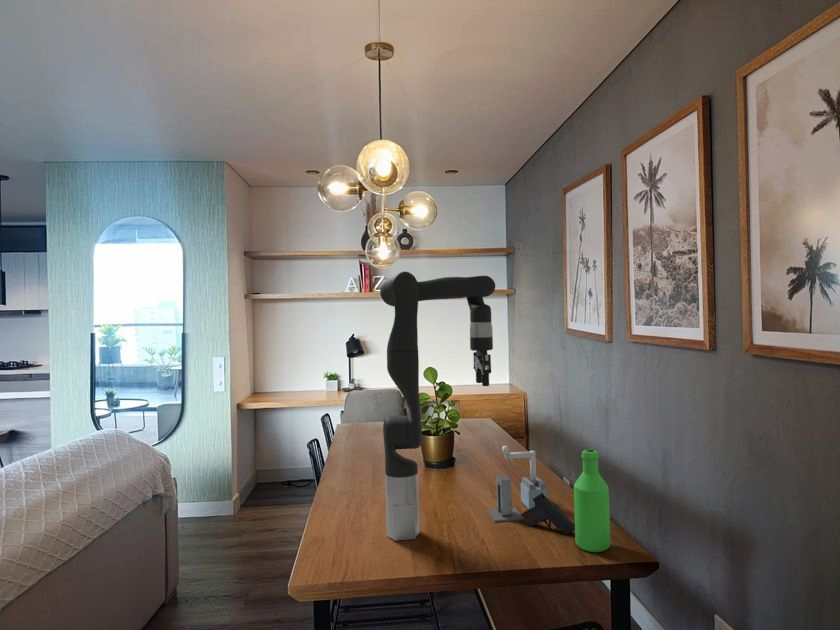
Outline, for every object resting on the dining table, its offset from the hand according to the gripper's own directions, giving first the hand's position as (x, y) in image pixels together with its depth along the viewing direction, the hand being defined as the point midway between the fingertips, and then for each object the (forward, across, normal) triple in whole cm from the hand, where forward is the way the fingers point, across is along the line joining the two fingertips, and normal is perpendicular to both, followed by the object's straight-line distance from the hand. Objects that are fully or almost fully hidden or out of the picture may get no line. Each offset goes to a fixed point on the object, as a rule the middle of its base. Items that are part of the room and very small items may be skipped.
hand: (482, 384), depth 182 cm
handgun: (+38, -29, -11) cm, 49 cm away
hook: (+38, -16, -2) cm, 41 cm away
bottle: (+38, -42, -18) cm, 60 cm away
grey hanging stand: (+38, -8, -10) cm, 40 cm away
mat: (+38, -16, -2) cm, 41 cm away
